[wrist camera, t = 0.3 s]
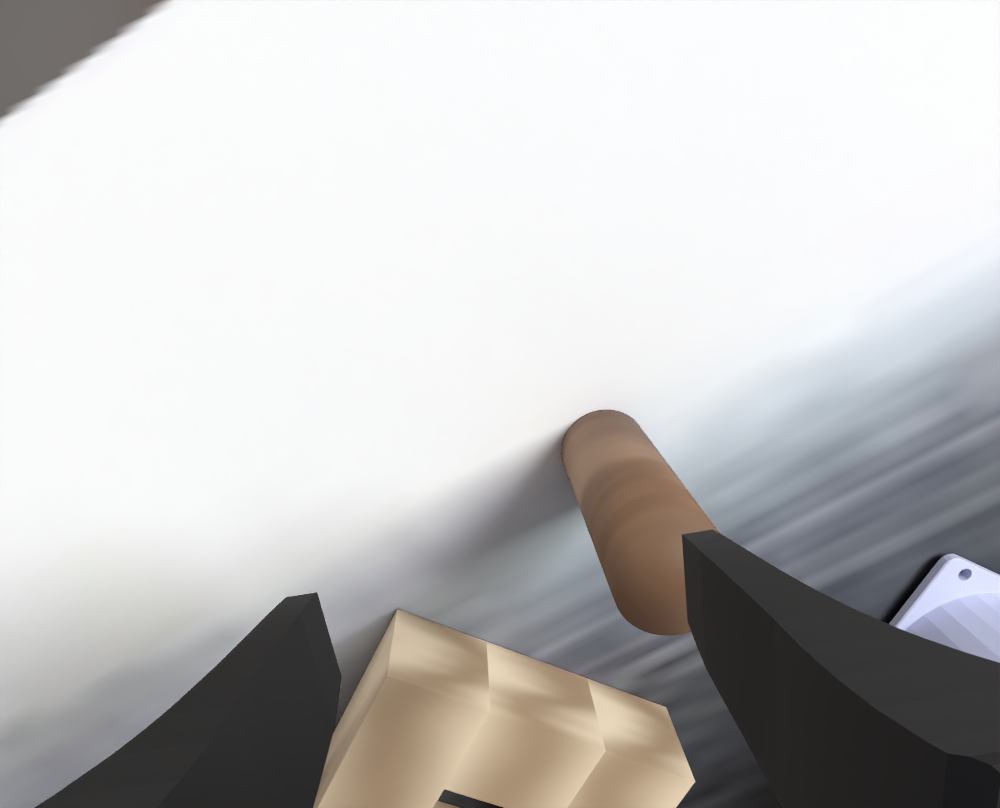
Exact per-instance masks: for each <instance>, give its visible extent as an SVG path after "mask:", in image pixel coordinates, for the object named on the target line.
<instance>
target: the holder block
mask: <svg viewBox="0 0 1000 808" xmlns="http://www.w3.org/2000/svg"><path fill="white" fill-rule="evenodd" d="M694 783H695V780H694V777H693V775H692V772H691V769H690V767H689V764H688V762H687V759H686V757H685V754H684V752H683V749H682V747H681V744H680V742H679V739H678V737H677V734H676V732H675V729H674V726H673V724H672V721H671V719H670V716H669V714H668V711H667V709H666V707H664V706H661V705H659V704H656V703H653V702H650V701H648V700H645V699H642V698H639V697H637V696H634V695H631V694H628V693H626V692H623V691H620V690H618V689H615V688H612V687H609V686H607V685H604V684H601V683H598V682H596V681H593V680H590V679H587V678H585V677H582V676H579V675H577V674H574V673H571V672H568V671H566V670H563V669H560V668H557V667H555V666H552V665H549V664H546V663H544V662H541V661H538V660H535V659H533V658H530V657H527V656H525V655H522V654H519V653H516V652H514V651H511V650H508V649H505V648H503V647H500V646H497V645H494V644H492V643H489V642H486V641H484V640H481V639H478V638H475V637H473V636H470V635H467V634H464V633H462V632H459V631H456V630H453V629H451V628H448V627H445V626H443V625H440V624H437V623H434V622H432V621H429V620H426V619H423V618H421V617H418V616H415V615H412V614H410V613H407V612H404V611H401V610H399V609H397V610H396V612H395V614H394V616H393V618H392V620H391V622H390V624H389V626H388V628H387V630H386V632H385V634H384V636H383V638H382V639H381V641H380V643H379V645H378V647H377V649H376V651H375V653H374V655H373V657H372V659H371V661H370V663H369V665H368V667H367V669H366V671H365V673H364V675H363V676H362V678H361V680H360V682H359V684H358V686H357V688H356V690H355V692H354V694H353V696H352V698H351V700H350V702H349V704H348V706H347V708H346V710H345V712H344V713H343V715H342V717H341V719H340V721H339V723H338V725H337V727H336V729H335V731H334V733H333V735H332V739H331V743H330V747H329V751H328V754H327V758H326V762H325V766H324V770H323V773H322V777H321V781H320V784H319V788H318V792H317V795H316V799H315V803H314V806H313V808H460V807H457V806H453V805H450V804H447V803H443V802H440V801H437V800H438V799H439V797H440V795H441V794H442V792H443V790H444V789H446V790H449V791H452V792H455V793H458V794H462V795H465V796H468V797H471V798H474V799H478V800H481V801H484V802H487V803H490V804H494V805H497V806H500V807H503V808H676V807H677V806H678V804H679V803H680V802H681V800H682V799H683V797H684V796H685V795H686V793H687V792H688V791H689V789H690V788H691V787H692V785H693V784H694Z"/></svg>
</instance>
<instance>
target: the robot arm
mask: <svg viewBox="0 0 1000 808" xmlns="http://www.w3.org/2000/svg"><path fill="white" fill-rule="evenodd" d="M682 546H683V561H684V576H685V591H686V606H687V621H688V624H689V627H690V629H691V632H692V634H693V637H694V640H695V642H696V645H697V647H698V650H699V652H700V655H701V657H702V659H703V662H704V664H705V667H706V669H707V671H708V673H709V675H710V676H711V678H712V680H713V682H714V684H715V686H716V687H717V689H718V691H719V693H720V695H721V697H722V698H723V700H724V702H725V704H726V706H727V707H728V709H729V711H730V713H731V715H732V716H733V718H734V720H735V722H736V724H737V725H738V727H739V729H740V731H741V733H742V734H743V736H744V738H745V740H746V742H747V743H748V745H749V747H750V749H751V751H752V752H753V754H754V756H755V758H756V760H757V761H758V763H759V765H760V767H761V769H762V770H763V772H764V774H765V776H766V778H767V780H768V782H769V784H770V786H771V788H772V790H773V792H774V794H775V796H776V798H777V800H778V802H779V805H780V807H781V808H1000V575H999V574H997V573H995V572H992V571H990V570H988V569H986V568H984V567H982V566H980V565H977V564H975V563H973V562H971V561H969V560H967V559H965V558H962V557H960V556H958V555H955V554H947V555H945V556H943V557H942V558H940V559H939V560H938V562H937V563H936V564H935V565H934V567H933V568H932V569H931V571H930V572H929V573H928V574H927V576H926V577H925V578H924V580H923V581H922V582H921V583H920V585H919V586H918V587H917V588H916V590H915V591H914V592H913V594H912V595H911V596H910V597H909V599H908V600H907V601H906V603H905V604H904V605H903V606H902V608H901V609H900V610H899V611H898V613H897V614H896V615H895V617H894V618H893V619H892V620H891V622H890V623H889V624H887V623H885V622H882V621H880V620H878V619H875V618H873V617H871V616H868V615H866V614H864V613H861V612H859V611H857V610H855V609H853V608H851V607H848V606H846V605H844V604H842V603H840V602H838V601H836V600H834V599H832V598H831V597H829V596H827V595H825V594H823V593H821V592H819V591H817V590H815V589H813V588H811V587H809V586H807V585H806V584H804V583H802V582H800V581H798V580H797V579H795V578H793V577H791V576H789V575H788V574H786V573H784V572H783V571H781V570H779V569H777V568H776V567H774V566H772V565H771V564H769V563H767V562H766V561H764V560H762V559H761V558H759V557H757V556H756V555H754V554H753V553H751V552H749V551H748V550H746V549H744V548H743V547H741V546H740V545H738V544H736V543H735V542H733V541H732V540H730V539H728V538H727V537H725V536H723V535H722V534H720V533H718V532H716V531H715V530H713V529H712V530H706V531H700V532H693V533H687V534H682ZM962 570H963V571H962ZM961 571H962V572H961ZM960 572H961V573H960ZM959 573H960V574H959ZM340 682H341V674H340V671H339V667H338V664H337V660H336V657H335V653H334V650H333V646H332V643H331V639H330V636H329V632H328V629H327V625H326V622H325V618H324V615H323V612H322V608H321V605H320V601H319V598H318V594H317V593H310V594H304V595H298V596H292V597H286V598H285V599H284V600H283V601H282V602H280V603H279V604H278V605H277V606H276V607H275V608H274V609H273V610H272V611H271V612H270V613H269V614H268V615H267V616H266V617H265V618H264V619H263V620H262V621H261V622H260V623H259V624H258V625H257V626H256V627H255V628H254V629H253V630H252V631H251V632H250V633H249V634H248V635H247V636H246V637H245V638H244V639H243V640H242V641H241V642H240V643H239V644H238V645H237V646H236V647H235V648H234V649H233V650H232V651H231V652H230V653H229V654H228V655H227V656H226V657H225V658H224V659H223V660H222V661H221V662H220V663H219V664H218V665H217V666H216V667H215V668H214V669H213V670H211V671H210V672H209V673H208V674H207V675H206V676H205V677H204V678H203V679H202V680H201V681H199V682H198V683H197V684H196V685H195V686H194V687H193V688H192V689H191V690H190V691H189V692H187V693H186V694H185V695H184V696H183V697H182V698H181V699H180V700H179V701H178V702H177V703H175V704H174V705H173V706H172V707H171V708H170V709H169V710H167V711H166V712H165V713H164V714H163V715H162V716H160V717H159V718H158V719H157V720H156V721H154V722H153V723H152V724H151V725H150V726H148V727H147V728H146V729H145V730H143V731H142V732H141V733H139V734H138V735H137V736H136V737H134V738H133V739H132V740H131V741H129V742H128V743H127V744H125V745H124V746H123V747H122V748H120V749H119V750H118V751H116V752H115V753H114V754H112V755H111V756H110V757H108V758H107V759H105V760H104V761H103V762H101V763H100V764H98V765H97V766H95V767H94V768H92V769H91V770H90V771H88V772H87V773H85V774H84V775H82V776H81V777H79V778H78V779H77V780H75V781H74V782H72V783H71V784H69V785H68V786H67V787H65V788H64V789H62V790H61V791H59V792H58V793H56V794H55V795H54V796H52V797H51V798H49V799H47V800H46V801H44V802H43V803H41V804H40V805H38V806H36V807H35V808H313V806H314V803H315V799H316V795H317V792H318V788H319V784H320V781H321V777H322V773H323V770H324V766H325V762H326V758H327V754H328V751H329V747H330V743H331V739H332V735H333V731H334V727H335V720H336V714H337V707H338V699H339V691H340Z"/></svg>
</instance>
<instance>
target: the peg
mask: <svg viewBox="0 0 1000 808" xmlns="http://www.w3.org/2000/svg"><path fill="white" fill-rule="evenodd" d="M561 454H562V461H563V464H564V467H565V469H566V472H567V475H568V477H569V480H570V483H571V485H572V488H573V491H574V493H575V496H576V499H577V501H578V504H579V507H580V509H581V512H582V515H583V517H584V520H585V523H586V526H587V528H588V531H589V534H590V536H591V539H592V542H593V544H594V547H595V550H596V552H597V555H598V558H599V560H600V563H601V566H602V568H603V571H604V574H605V576H606V579H607V582H608V584H609V587H610V590H611V592H612V595H613V598H614V600H615V603H616V605H617V608H618V609H619V611H620V613H621V614H622V615H623V617H624V618H625V619H626V620H627V621H628V622H629V623H631V624H632V625H633V626H635V627H637V628H638V629H640V630H643V631H645V632H648V633H651V634H657V635H679V634H685V633H688V632H691V629H690V627H689V624H688V621H687V606H686V591H685V576H684V561H683V546H682V534H687V533H693V532H700V531H706V530H712V529H713V530H715V531H716V532H718V533H719V531H718V530H717V529H716V527H715V526H714V525H713V523H712V522H711V521H710V519H709V518H708V517H707V515H706V514H705V513H704V511H703V510H702V509H701V507H700V506H699V505H698V503H697V502H696V501H695V499H694V498H693V497H692V495H691V494H690V493H689V491H688V490H687V489H686V487H685V486H684V485H683V483H682V482H681V481H680V479H679V478H678V477H677V475H676V474H675V473H674V471H673V470H672V469H671V467H670V466H669V465H668V463H667V462H666V461H665V459H664V458H663V457H662V455H661V454H660V453H659V451H658V450H657V449H656V447H655V446H654V445H653V443H652V442H651V441H650V439H649V438H648V437H647V435H646V434H645V433H644V432H643V430H642V429H641V428H640V426H639V425H638V424H637V422H636V421H635V420H634V419H632V418H631V417H630V416H628V415H626V414H624V413H622V412H619V411H615V410H598V411H594V412H591V413H589V414H586V415H584V416H583V417H581V418H580V419H578V420H577V421H576V422H575V423H574V424H573V425H572V426H571V427H570V428H569V430H568V431H567V433H566V435H565V437H564V440H563V443H562V451H561Z"/></svg>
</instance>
